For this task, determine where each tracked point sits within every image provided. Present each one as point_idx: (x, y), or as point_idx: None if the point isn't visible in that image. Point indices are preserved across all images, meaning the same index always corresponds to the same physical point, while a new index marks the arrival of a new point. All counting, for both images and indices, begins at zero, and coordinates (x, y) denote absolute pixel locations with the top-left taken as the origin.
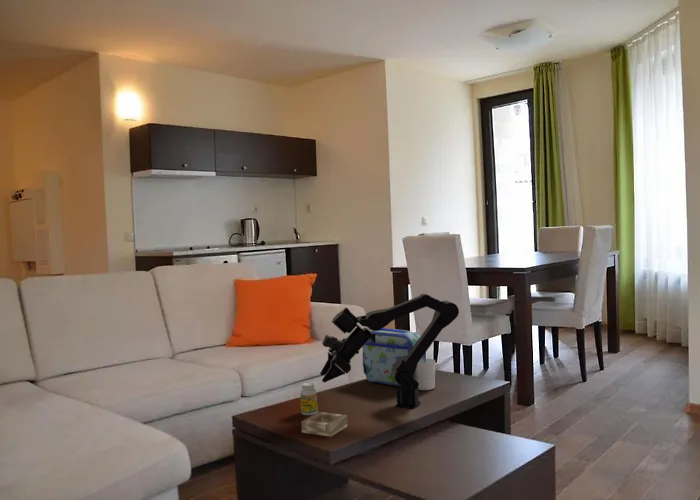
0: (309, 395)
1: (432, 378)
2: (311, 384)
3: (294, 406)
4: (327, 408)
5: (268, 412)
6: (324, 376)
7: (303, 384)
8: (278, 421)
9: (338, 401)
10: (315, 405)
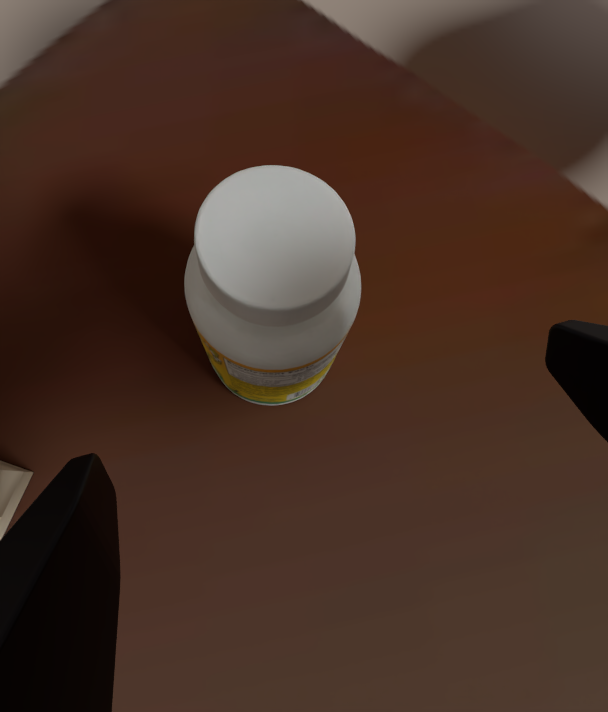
0: (190, 310)
1: None
2: (251, 281)
3: (420, 210)
4: (393, 461)
5: (279, 82)
6: (37, 514)
7: (256, 182)
8: (82, 178)
9: (588, 515)
10: (237, 386)
